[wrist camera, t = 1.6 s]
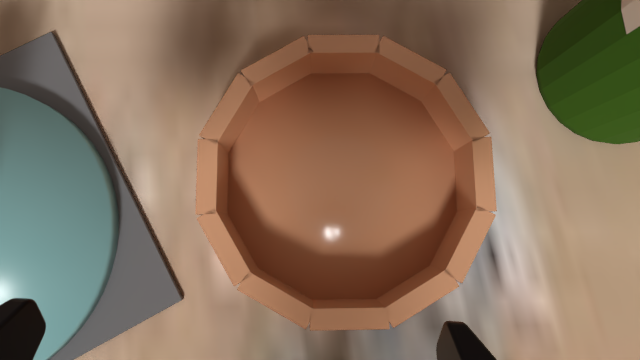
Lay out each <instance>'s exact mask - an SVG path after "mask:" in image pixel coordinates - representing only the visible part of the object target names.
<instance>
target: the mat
mask: <svg viewBox="0 0 640 360" xmlns="http://www.w3.org/2000/svg"><path fill="white" fill-rule="evenodd" d="M0 87H1V88H6V89H10V90H13V91H16V92H19V93H22V94H25V95H27V96H29V97H31V98H33V99H35V100H37V101H39V102H41V103H43V104H45V105H48V106H50V107H52V108H54V109H55V110H57V111H58V112H60V113H61V114H63V115H64V116H66V117H67V118H69V119H70V120H71V121H72V122H73V123H74V124H75V125H76V126H78V127H79V128H80V129H81V130H82V131H83V132H84V133H85V135H86V136H87V137H88V138H89V139H90V141H91V142H92V143H93V144H94V146H95V147H96V149H97V151H98V152H99V154H100V155H101V157H102V158H103V160H104V162H105V165H106V167H107V169H108V171H109V174H110V176H111V179H112V183H113V186H114V190H115V193H116V198H117V205H118V212H119V236H118V244H117V252H116V257H115V261H114V265H113V268H112V272H111V275H110V278H109V280H108V283H107V285H106V288H105V290H104V293H103V295H102V296H101V298H100V300H99V302H98V304H97V306H96V308H95V309H94V311H93V313H92V314H91V315H90V317H89V318H88V320H87V321H86V322H85V324H84V325H83V327H82V328H81V329H80V330H79V332H78V333H77V334H76V335H75V336H74V337H73V338H72V339H71V340H70V341H69V343H68V344H67V345H66V346H65V347H63V348H62V349H61V350H60V351H59V352H58V353H56V354H55V355H54V356H53V357H52V358H51V359H50V360H73V359H75V358H77V357H79V356H81V355H82V354H84V353H86V352H88V351H90V350H92V349H93V348H95V347H97V346H99V345H101V344H102V343H104V342H106V341H108V340H110V339H112V338H113V337H115V336H117V335H119V334H121V333H123V332H124V331H126V330H128V329H130V328H132V327H133V326H135V325H137V324H139V323H141V322H143V321H144V320H146V319H148V318H150V317H152V316H153V315H155V314H157V313H159V312H161V311H163V310H164V309H166V308H168V307H170V306H172V305H173V304H175V303H177V302H179V301H181V300H183V297H182V295H181V293H180V291H179V289H178V287H177V285H176V283H175V281H174V279H173V277H172V275H171V273H170V271H169V269H168V267H167V265H166V263H165V260H164V258H163V256H162V254H161V252H160V250H159V248H158V246H157V244H156V242H155V240H154V238H153V236H152V234H151V232H150V230H149V228H148V226H147V224H146V222H145V220H144V217H143V215H142V213H141V211H140V209H139V207H138V205H137V203H136V201H135V199H134V197H133V195H132V193H131V191H130V189H129V187H128V185H127V183H126V181H125V179H124V177H123V174H122V172H121V170H120V168H119V166H118V164H117V162H116V160H115V158H114V156H113V154H112V152H111V150H110V148H109V146H108V144H107V142H106V140H105V138H104V136H103V133H102V131H101V129H100V127H99V125H98V123H97V121H96V119H95V117H94V115H93V113H92V111H91V109H90V107H89V105H88V103H87V101H86V99H85V97H84V95H83V93H82V90H81V88H80V86H79V84H78V82H77V80H76V78H75V76H74V74H73V72H72V70H71V68H70V66H69V64H68V62H67V60H66V58H65V56H64V54H63V52H62V50H61V47H60V45H59V43H58V41H57V39H56V37H55V35H54V34H53V33H52V32H50V33H47V34H45V35H43V36H41V37H39V38H37V39H35V40H33V41H31V42H28V43H26V44H24V45H22V46H20V47H18V48H16V49H14V50H12V51H9V52H7V53H5V54H3V55H1V56H0Z"/></svg>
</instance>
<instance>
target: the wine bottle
mask: <svg viewBox="0 0 640 360" xmlns="http://www.w3.org/2000/svg"><path fill="white" fill-rule="evenodd" d="M536 75H537V80H538V85H539V90H540V93H541V95H542V97H543V99H544V101H545V103H546V105H547V107H548V109H549V110H550V111H551V112H552V114H553V115H554V116H555V117H556V118H557V120H558V121H559V122H560V123H561V124H563V125H564V126H565V127H567V128H568V129H570V130H571V131H572V132H574V133H575V134H577V135H580V136H582V137H585V138H587V139H590V140H592V141H598V142H605V143H612V144H623V143H632V142H638V141H640V0H582V1H581V2H580V3H578V4H577V5H576V6H575V7H574V8H573V9H572V10H570V11H569V12H568V13H567V14H566V15H565V16H564V17H562V18H561V19H560V20H559V21H558V22H557V23H556V24H555V25H554V27H553V28H552V29H551V30H550V32H549V33H548V34H547V36H546V37H545V40H544V42H543V45H542V47H541V50H540V53H539V55H538V60H537V73H536Z"/></svg>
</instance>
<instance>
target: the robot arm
mask: <svg viewBox="0 0 640 360" xmlns="http://www.w3.org/2000/svg"><path fill="white" fill-rule="evenodd" d="M45 330H46V322H45V320H44V318H43V316H42V314H41V311H40V309H39V307H38V305H37V303H36V302H35V301H34V300H33V299H27V298H13V299H10V300H8V301H6V302H5V303H3V304H1V305H0V360H33V359H34V356H35V354H36V352H37V350H38V347H39V345H40V343H41V341H42V339H43V336H44V334H45ZM436 351H437V360H496V358H495V357H494V356H493V355H492V354H491V353H490V351H489V350H488V349H487V348H486V347H485V346H484V344H483V343H482V342H481V341H480V340H479V339H478V337H477V336H476V335H475V334H474V333H473V332H472V330H471V329H470V328H469V327H468V326H467V325H466V324H465V323H463V322H455V321H446V322H445V323H444V325H443V328H442V331H441V334H440V337H439V340H438V342H437V349H436Z"/></svg>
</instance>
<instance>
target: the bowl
mask: <svg viewBox="0 0 640 360" xmlns="http://www.w3.org/2000/svg"><path fill="white" fill-rule="evenodd" d="M241 72H242V74H243V76H242V75H240V74H239V73H238V74H237V75H236V77H235V78H234V80H233V82H232V83H231V85H230V86H229V88H228V90H227V91H226V93H225V94H224V96H223V98H222V99H221V101H220V102H219V104H218V106H217V107H216V109H215V110H214V112H213V114H212V115H211V117H210V118H209V120H208V122H207V123H206V125H205V126H204V128H203V130H202V131H201V133H200V134H199V135H200V136H201V137H202V138H203V139H198V152H197V184H196V214H197V215H201V216H200V217H198V218H197V220H198V222H199V224H200V225H201V227H202V229H203V231H204V233H205V235H206V236H207V238H208V240H209V242H210V244H211V245H212V247H213V249H214V251H215V253H216V254H217V256H218V258H219V260H220V262H221V264H222V265H223V267H224V269H225V271H226V273H227V274H228V276H229V278H230V280H231V282H232V284H233V285H234V286H235V285H237V284H239V283H240V282H241V284H240V285H239V287H238V289H237V290H239V291H241V292H242V293H244V294H246V295H247V296H249V297H251V298H253V299H254V300H256V301H258V302H259V303H261V304H263V305H265V306H266V307H268V308H270V309H271V310H273V311H275V312H277V313H278V314H280V315H282V316H283V317H285V318H287V319H289V320H290V321H292V322H294V323H295V324H297V325H299V326H301V327H302V328H304V329H306V328H307V326H308V324H309V322H310V331H311V330H372V329H389V323H390V325H391V326H392V327H393V328H394V327H396V326H397V325H399V324H400V323H402V322H404V321H405V320H407V319H408V318H410V317H412V316H413V315H415V314H416V313H418V312H419V311H421V310H423V309H424V308H426V307H427V306H429V305H430V304H432V303H434V302H435V301H437V300H438V299H440V298H442V297H443V296H445V295H446V294H448V293H449V292H451V291H453V290H454V289H456V288H457V287H459V285H458V283H457V282H460V283H462V282H463V280H464V278H465V276H466V274H467V272H468V270H469V268H470V266H471V264H472V262H473V260H474V258H475V256H476V254H477V252H478V250H479V248H480V246H481V244H482V242H483V240H484V238H485V236H486V234H487V232H488V230H489V228H490V226H491V224H492V222H493V220H494V218H495V216H496V215H495V214H493V213H491V212H493V211H497V210H496V196H495V182H494V168H493V155H492V141H491V137H484V136H486V135H488V134H489V131H488V130H487V128H486V127H485V125H484V124H483V122H482V120H481V119H480V117H479V116H478V114H477V113H476V111H475V110H474V108H473V107H472V105H471V104H470V102H469V101H468V99H467V98H466V96H465V95H464V93H463V92H462V90H461V89H460V87H459V86H458V84H457V83H456V81H455V80H454V78H453V77H452V75H451V74H450V73H448V74H446V75H444V74H445V72H446V69H445V68H443V67H441V66H439V65H437V64H435V63H433V62H431V61H430V60H428V59H426V58H424V57H422V56H420V55H418V54H416V53H415V52H413V51H411V50H409V49H407V48H405V47H403V46H401V45H400V44H398V43H396V42H394V41H392V40H390V39H388V38H386V37H385V36H383V37H382V39H381V40H380V42H379V35H308V42H307V40H306V39H305V37H304V36H303V37H301V38H299V39H297V40H295V41H294V42H292V43H290V44H288V45H286V46H284V47H283V48H281V49H279V50H277V51H275V52H273V53H272V54H270V55H268V56H266V57H264V58H262V59H261V60H259V61H257V62H255V63H253V64H251V65H250V66H248V67H246V68H244V69H242V70H241ZM456 281H457V282H456Z"/></svg>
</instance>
